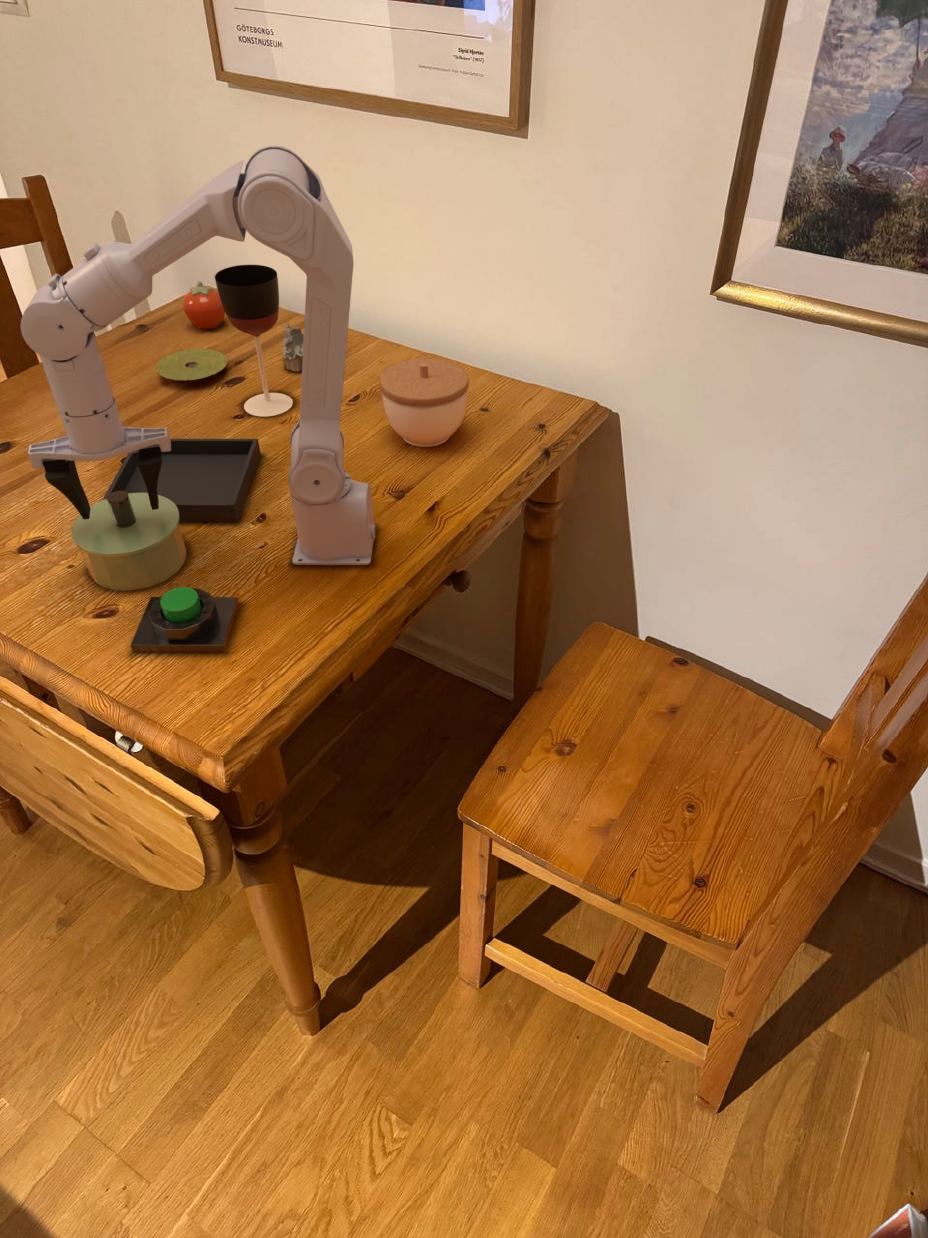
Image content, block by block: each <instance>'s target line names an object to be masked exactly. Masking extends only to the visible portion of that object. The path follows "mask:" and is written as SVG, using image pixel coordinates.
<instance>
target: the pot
mask: <svg viewBox="0 0 928 1238" xmlns="http://www.w3.org/2000/svg"><path fill="white" fill-rule="evenodd" d="M79 550H80V553H81V555H82V558H83V560H84V563H85V566H86V568H87V571H88V573H89V575H90V577H91V578H92V579H93V581H94V582H95V583H96V584H98V585H99V586H101V587H103V588H104V589H105V588H106V589H109V590H113V591H120V592H121V591H123V592H124V591H125V592H128V591H130V592H131V591H138V590H143V589H147V588H151V587H153V586H157V585H159V584H161V583H163V582H165V581H167V580H169V579H170V578H171V577H173V576H174V575H175V574H176V573H177V572H179V570H180V569H181V568H182V567H183V565H184V563H185V561H186V560H187V548H186V545H185V540H184V537H183V533H182V530H181V527H180V523H179V524H178V527H177V528H176V530H175V531H174V533H173V534H172V535H171V536H170V537H169V538H167V539H166V540H165V541H164V542H162V543H160V544H159V545H157V546H155V547H153V548H151V549H149V550H146V551H143V552H141V553H137V554H133V555H128V556H121V557H102V556H96V555H92V554H89V553H86V552H84V551H83V550H81V549H80V548H79Z"/></svg>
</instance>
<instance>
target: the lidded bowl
mask: <svg viewBox="0 0 928 1238" xmlns="http://www.w3.org/2000/svg"><path fill="white" fill-rule="evenodd" d="M469 377H470V376H469V374H468V372H467V370H466V369H465V368H464V367H462V366H461V365H459V364H457V363H455V362H453V361H452V360H451V361H450V360H448V359H443V358H435V357H415V358H409V359H405V360H401V361H398V362H394V363H393V364H391V365H389V366H388V367H386V368H385V369H384V370H383V371H382V372H381V374H380V376H379V382H378V383H379V389H380V393H381V402H382V407H383V408H382V409H383V411H384V415H385V417H386V420H387V422H388V424H389V426H390V427H391V428H392V430H393V431H394V432H395V434H397V435H398V436H400V437H401V438H402V440H403V441H405V443H407V444H409V445H411V446H414V447H420V448H431V447H432V448H433V447H437V446H441V445H442V444H444V443H447V441H449V439H450V437H451V436H452V435H454V433H456V431H458V429H459V428H460V426H461V424H462V423H463V421H464V418H465V416H466V412H467V407H468V400H469V399H468V398H469V387H470V378H469Z"/></svg>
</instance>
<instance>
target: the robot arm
mask: <svg viewBox="0 0 928 1238" xmlns="http://www.w3.org/2000/svg"><path fill="white" fill-rule="evenodd" d="M243 164H244V160H243V159H242V160H240V161H237V162H236V163H233V164H231V165H230V166H229V167H227V168H226V169H224V170H222V171H221V172H220V173H219V174H218V175H216V176H215V177H213V178H212V179H211V180H209V181H208V182H205V184H203V185H202V186H201V187H199V188H198V190H196V191H195V192H194V193H193V194H191V195H190V196H189V197H187V198H186V199H185V200H184V201H183V202H181V203H180V204H179V205H178V206H176V207H175V208H174V209H172V210H171V211H169V213H168V214H166V215H165V216H163V217H162V219H159V221H158V222H157V223H156V224H154V225H153V226H151V228H149V229H148V230H147V231H146V232H144V233H142V235H140V236H139V237H137V239H135V240H134V241H133V242H131V243H126V242H122V241H115V240H110V241H107V242H106V243H104V244H103V245H99V244H98V243H97V242H93V243H92V244H90V245H89V246H88V247H86V249H85V250H84V252H83V257H84V258H85V259H83V260H82V261H80V262H79V263H78V264H76V265H75V266H73V267H72V268H71V269H70V270H68V271H67V272H65V273H64V274H63V275H62V276H61V274H59V273H55V274H54V275H53V276H50V277H49V279H48V281H47V283H46V284H44V285H42V286H41V287H39V289H37V291H36V292H35V294H34V296H32V299H31V300H30V302H29V304H27V307H26V308H25V310H24V311H23V314H22V317H21V319H20V333H21V335H22V338H23V340H24V342H25V344H26V345H27V346H28V347H29V348H30V350H32V351H33V352H35V353H36V354H38V356H39V359H40V361H41V364H42V367H43V371H44V374H45V376H46V379H47V382H48V385H49V387H50V391H51V394H52V396H53V399H54V402H55V404H56V407H57V410H58V413H59V415H60V418H61V421H62V424H63V427H64V430H65V433H66V435H64V436H61V437H57V438H54V439H50V440H46V441H43V442H38V443H32V444H31V443H30V444H29V446H28V450H27V456H28V458H29V462H30V464H31V466H32V469H34V470H36V469H42V468H44V472H45V473H44V478H45V480H46V481H47V483H48V484H49V485H51V486H52V487H53V488H55V489H56V490H58V491H59V492H60V493H61V494H62V495H63V496H64V497H65V498H67V500H68V501H69V502H70V503H71V504H72V505H73V507H74V508H75V509H76V510H77V512H78V513H79V516H80V515H81V516H82V518H83V519H89V518H90V507H91V504H90V503H89V499H88V497H87V495H86V493H85V490H84V487H83V486H82V482H81V480H80V477H79V473H78V469H77V465H76V461H77V462H78V461H81V462H98V461H99V462H101V461H105V460H109V459H112V458H115V457H119V456H122V455H128V453H136V452H139V457H138V467H139V469H140V472H141V474H142V476H143V479H144V482H145V484H146V487H147V491H148V496H149V500H150V505H151V507H152V510H155V509H158V508H159V499H158V493H157V483H158V477H159V473H160V470H161V465H162V452H167V451H171V441H170V439H171V437H170V432H169V430H168V427H157V428H156V427H153V428H152V427H149V428H148V427H131V426H124V425H123V421H122V419H121V414H120V412H119V409H118V405H117V402H116V399H115V396H114V393H113V389H112V386H111V382H110V379H109V376H108V373H107V370H106V366H105V363H104V360H103V358H102V357H103V356H102V355H101V352H100V349H99V346H98V342H97V340H96V336H95V333H96V332H98V331H102V330H104V329H105V328H107V327H108V326H109V325H111V324H112V323H114V322H115V321H116V320H118V319H119V318H121V317H123V316H124V315H125V314H126V313H128V312H129V311H131V310H132V309H133V308H135V307H136V306H137V305H139V304H140V303H141V302H143V301H145V300H146V299H147V298H149V297H150V296H151V295H152V293H153V277H154V276H155V275H157V274H158V273H160V272H162V271H163V270H164V269H166V268H167V267H169V266H170V265H172V264H174V263H175V262H177V261H178V260H180V259H182V258H183V257H184V256H186V255H188V254H189V253H191V252H192V251H194V250H195V249H197V248H198V247H200V246H201V245H203V244H204V243H206V242H208V241H209V240H211V239H212V238H214V237H221V238H224V239H228V240H232V241H236V242H240V243H241V242H242V243H243V242H245V239H246V235H247V233H248V234H249V235H250V236H251V237H252V238H253V239H254V240H256V241H257V242H259V243H261V244H262V245H264V246H265V247H268V248H269V249H272V250H274V251H276V252H278V253H280V254H282V255H284V256H285V257H287V258H289V259H290V260H291V261H292V262H293V264H295V265H296V266H297V267H298V268H299V269H300V270H301V271H302V272H303V273H304V274H305V276H306V283H305V301H304V303H305V304H304V321H303V322H304V325H303V334H304V343H303V363H302V370H301V382H300V383H301V387H300V405H299V417H298V420H297V423H296V424H295V425H294V427H293V428H292V430H291V433H290V437H289V444H290V464H289V470H288V475H287V476H288V477H287V482H288V487H289V491H290V497H291V503H292V510H293V517H294V522H295V528H296V533H297V539H296V544H295V548H294V552H293V556H292V560H291V563H292V565H294V566H369V565H370V564H371V561H372V554H373V547H374V541H375V538H376V525H375V517H374V516H375V515H374V504H373V494H372V488H371V484H370V483H368V482H363V481H357V480H355V479H352V478H351V475H350V473H348V472H347V469H346V468H345V465H344V463H345V462H344V461H345V460H344V448H345V437H344V434H343V432H342V429H341V416H342V404H343V395H344V382H345V369H346V355H347V346H348V333H349V323H350V322H349V321H350V309H351V299H352V288H353V287H352V286H353V273H354V253H353V251H354V250H353V245H352V242H351V240H350V238H349V236H348V234H347V231H345V228H344V226H343V225H342V222H341V220H340V218H339V217H338V214H337V212H336V211H335V209H334V207H333V205H332V204H331V200H330V199H329V197H328V195H327V191H326V190H325V188H324V185H323V182H322V181H321V177H320V175H319V174H318V173H316V171H314V169H313V168H311V166H309V165H308V163H306V161H304V160H303V158H301V157H300V155H298V153H296V152H295V151H293V150H291V149H290V148H288V147H285V146H281V145H275V144H274V145H273V144H272V145H267V146H263V147H261V148H259V149H257V150H256V151H254V153H252V155H251V156H250V157H249V158H248V160H247V162H246V163H245V164H246V165H245V168H244V172H243V173H242V172H241V171H242V168H243ZM94 332H95V333H94Z"/></svg>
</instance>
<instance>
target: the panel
mask: <svg viewBox="0 0 928 1238" xmlns="http://www.w3.org/2000/svg"><path fill="white" fill-rule="evenodd" d="M190 588H191V589H193V590H195V591H196V592H197V594H198V597H199V601H200V604H201V610H200V612H199V614H198V615H197V616H196V617H195V618H193V619H191V620H188V621H185V622H171V621H169V620H167V619H166V618H165V616H164V614H163V610H162V607H161V604H160V600H161V598H162V596H163V595H164V594H162V595H161V596H150V598H149V601H148V603H147V605H146V607H145V609H144V612H143V615H142V617H141V620H140V622H139V624H138V626H137V629H136V631H135V634H134V636H133V638H132V640H131V643H130V648H131V650H132V653H134V654H135V653H141V654H142V653H144V654H145V653H148V654H149V653H152V654H153V653H154V654H155V653H158V654H159V653H161V654H162V653H163V654H164V653H165V654H166V653H168V654H169V653H170V654H171V653H173V654H175V653H176V654H177V653H179V654H181V653H182V654H185V653H187V654H188V653H189V654H209V653H210V654H221V653H222V654H225V652H226V649H227V646H228V643H229V640H230V637H231V633H232V629H233V626H234V624H235V620H236V618H237V614H238V610H239V607H240V602H239V598H238V597H237V596H212V594H211V593H210V592H207V591H205V590H203V589H200V588H199V587H190Z"/></svg>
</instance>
